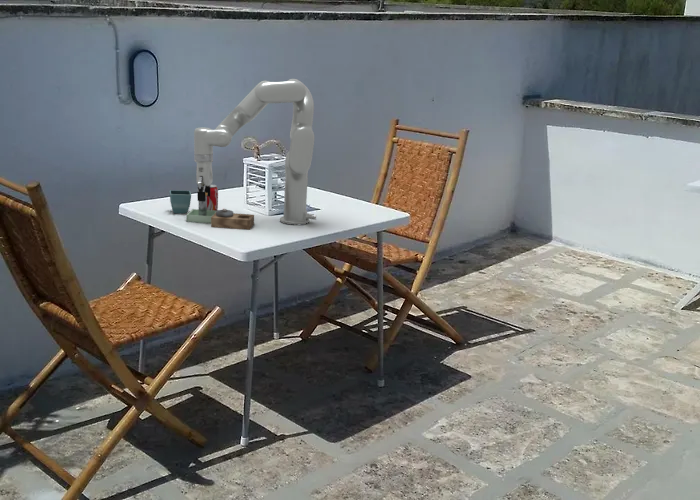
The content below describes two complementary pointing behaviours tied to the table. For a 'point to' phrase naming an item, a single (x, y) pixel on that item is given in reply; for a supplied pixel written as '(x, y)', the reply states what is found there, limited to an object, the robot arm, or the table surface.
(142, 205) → the table surface
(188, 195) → the flower pot
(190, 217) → the tray
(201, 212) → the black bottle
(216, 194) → the soda can
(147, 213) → the table surface
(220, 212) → the block
